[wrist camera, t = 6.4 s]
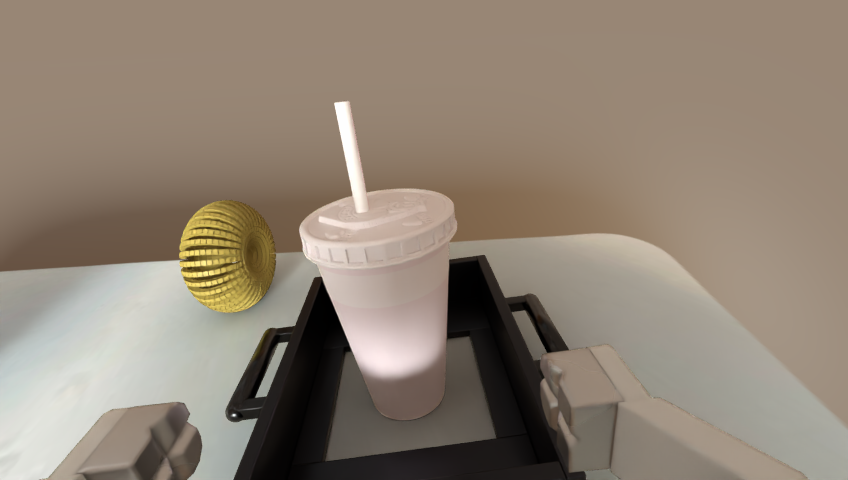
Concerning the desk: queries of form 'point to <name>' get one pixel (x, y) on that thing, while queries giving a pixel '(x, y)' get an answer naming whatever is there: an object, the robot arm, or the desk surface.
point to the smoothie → (387, 282)
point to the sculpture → (227, 256)
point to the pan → (414, 469)
